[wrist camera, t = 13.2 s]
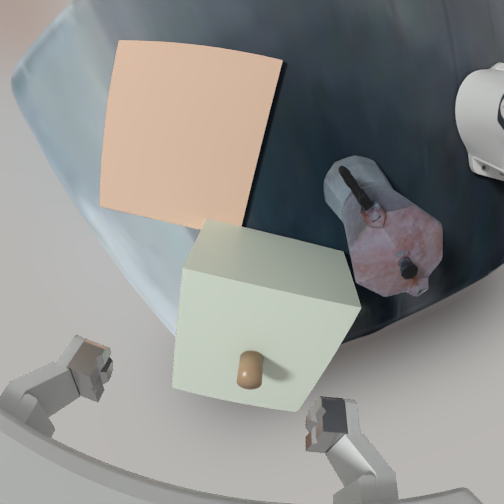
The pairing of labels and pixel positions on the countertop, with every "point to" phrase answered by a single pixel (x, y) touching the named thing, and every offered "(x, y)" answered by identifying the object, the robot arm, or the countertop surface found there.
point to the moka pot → (383, 229)
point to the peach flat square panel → (184, 130)
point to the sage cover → (259, 316)
